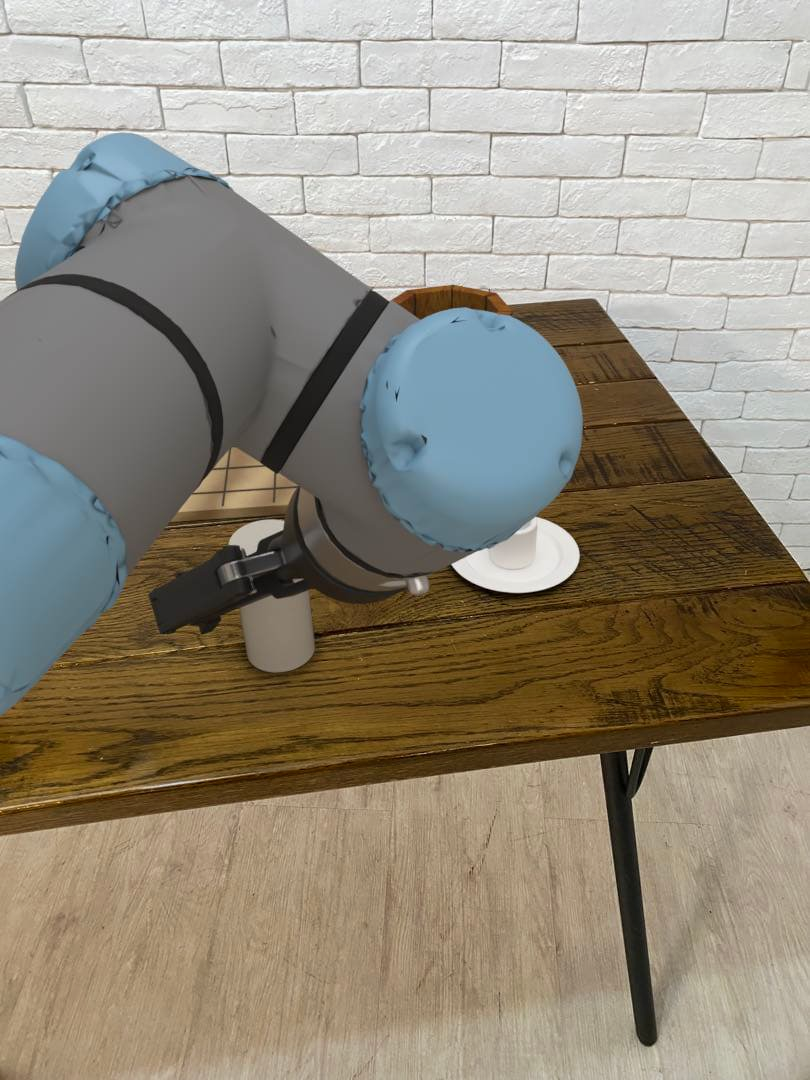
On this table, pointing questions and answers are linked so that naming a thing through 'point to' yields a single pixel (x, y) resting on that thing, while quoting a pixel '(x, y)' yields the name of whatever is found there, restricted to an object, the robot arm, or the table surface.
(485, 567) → the candle holder
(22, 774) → the table surface
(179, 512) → the game board
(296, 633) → the white cylinder
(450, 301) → the mug
